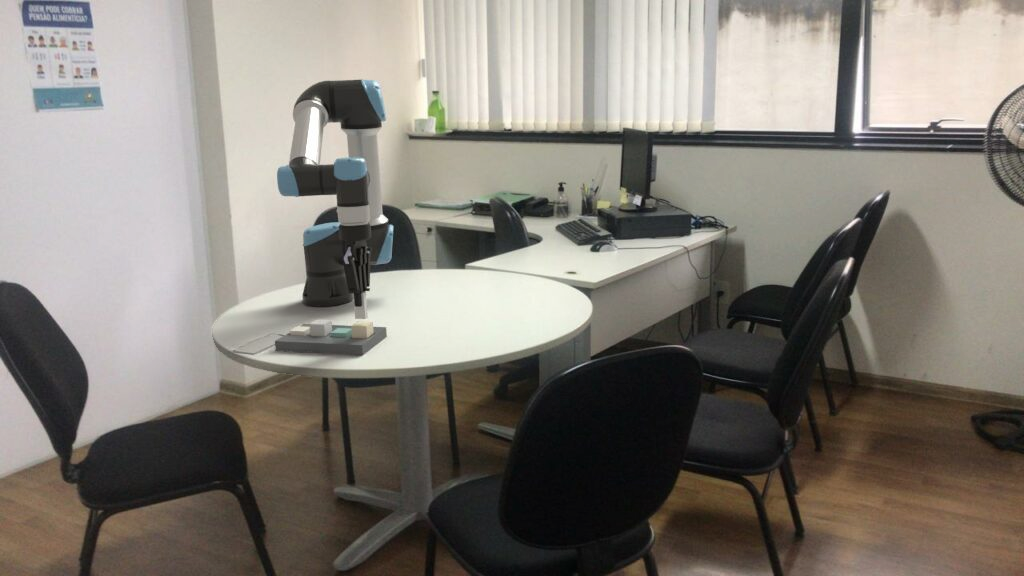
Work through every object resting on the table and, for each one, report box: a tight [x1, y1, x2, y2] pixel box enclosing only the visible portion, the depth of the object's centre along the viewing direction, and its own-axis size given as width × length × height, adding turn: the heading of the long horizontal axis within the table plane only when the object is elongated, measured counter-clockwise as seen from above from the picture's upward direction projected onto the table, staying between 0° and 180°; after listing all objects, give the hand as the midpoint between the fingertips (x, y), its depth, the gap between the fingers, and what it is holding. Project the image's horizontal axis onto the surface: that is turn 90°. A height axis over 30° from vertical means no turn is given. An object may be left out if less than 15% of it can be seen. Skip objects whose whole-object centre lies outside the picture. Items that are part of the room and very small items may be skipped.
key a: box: [289, 325, 310, 336], centre depth 201 cm, size 4×4×3 cm
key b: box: [308, 319, 333, 337], centre depth 199 cm, size 4×4×3 cm
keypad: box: [274, 323, 388, 356], centre depth 199 cm, size 15×23×2 cm, turn 77°
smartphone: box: [232, 333, 285, 355], centre depth 201 cm, size 7×1×15 cm
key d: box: [350, 320, 374, 338], centre depth 196 cm, size 4×4×3 cm
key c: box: [331, 328, 352, 338], centre depth 198 cm, size 4×4×3 cm
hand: (361, 318), depth 195 cm, fingers closed
